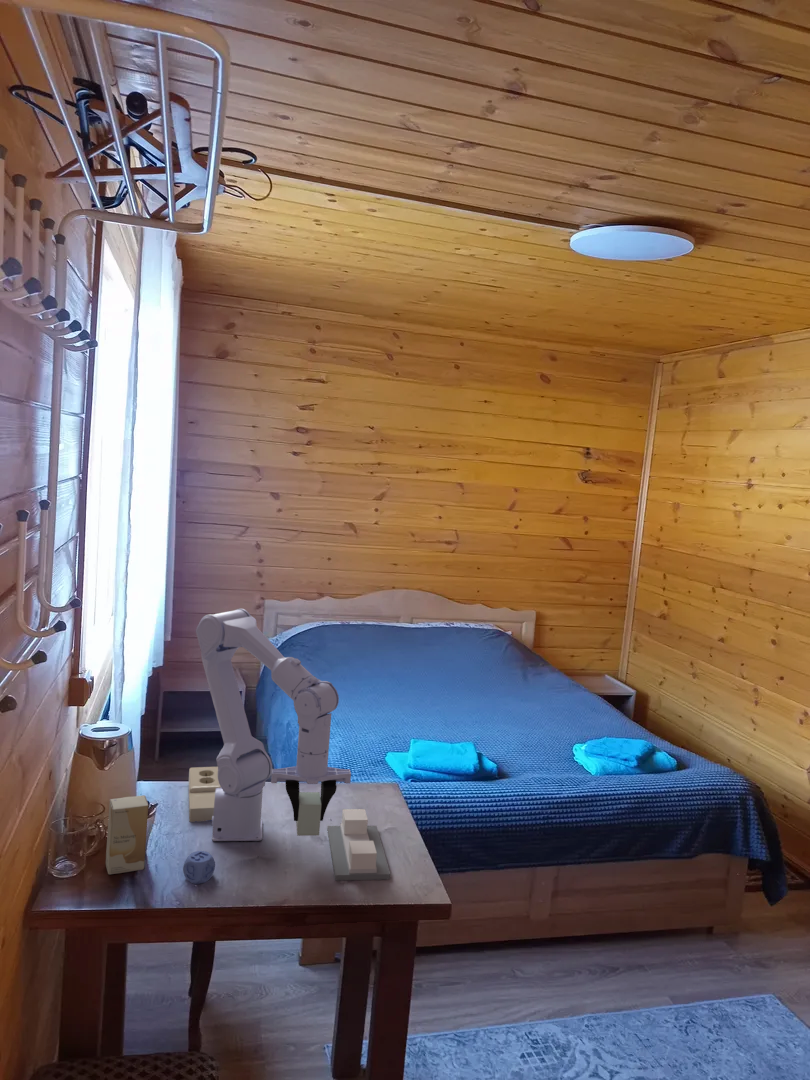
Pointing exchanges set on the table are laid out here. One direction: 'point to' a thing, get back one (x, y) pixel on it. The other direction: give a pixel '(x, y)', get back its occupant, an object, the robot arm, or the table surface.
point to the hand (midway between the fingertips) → (308, 818)
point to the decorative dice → (199, 867)
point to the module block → (308, 814)
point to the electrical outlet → (202, 792)
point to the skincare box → (126, 834)
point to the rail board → (342, 860)
